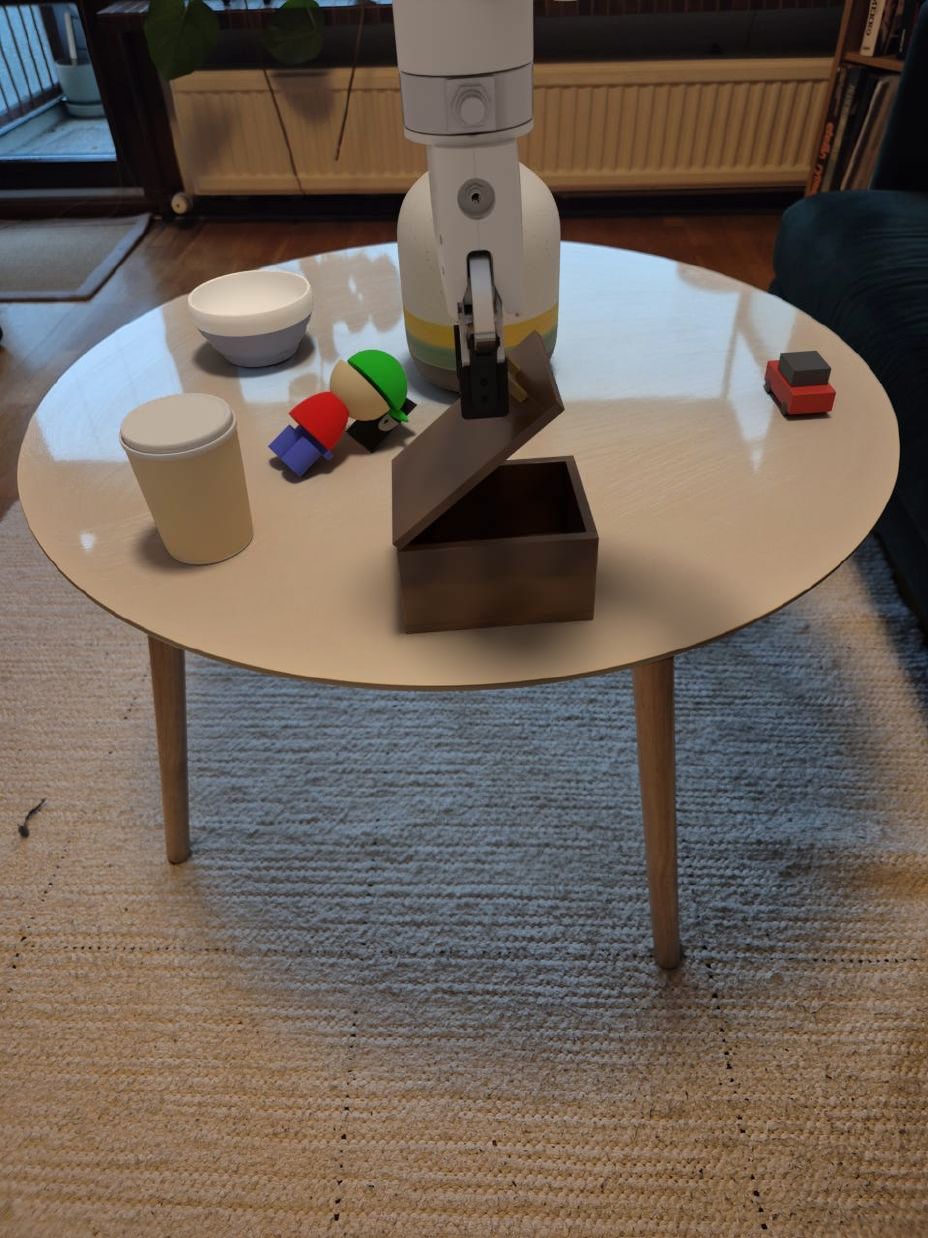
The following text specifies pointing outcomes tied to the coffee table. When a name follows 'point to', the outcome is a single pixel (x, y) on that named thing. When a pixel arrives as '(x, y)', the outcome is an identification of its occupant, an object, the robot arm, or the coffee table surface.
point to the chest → (505, 553)
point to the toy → (347, 410)
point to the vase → (424, 285)
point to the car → (800, 382)
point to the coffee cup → (191, 474)
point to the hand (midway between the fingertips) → (481, 393)
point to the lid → (471, 443)
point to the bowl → (253, 315)
